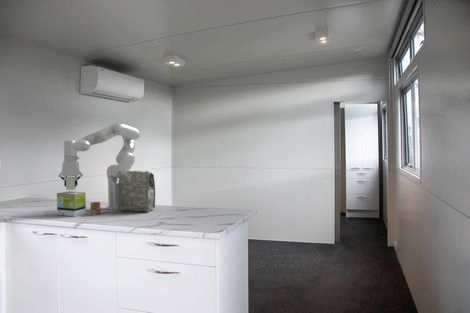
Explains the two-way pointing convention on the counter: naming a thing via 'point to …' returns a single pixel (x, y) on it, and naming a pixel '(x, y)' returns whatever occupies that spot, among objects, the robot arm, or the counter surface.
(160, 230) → the counter surface
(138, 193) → the bag
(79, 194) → the tea box
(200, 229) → the counter surface
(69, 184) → the green block
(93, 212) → the walnut block
